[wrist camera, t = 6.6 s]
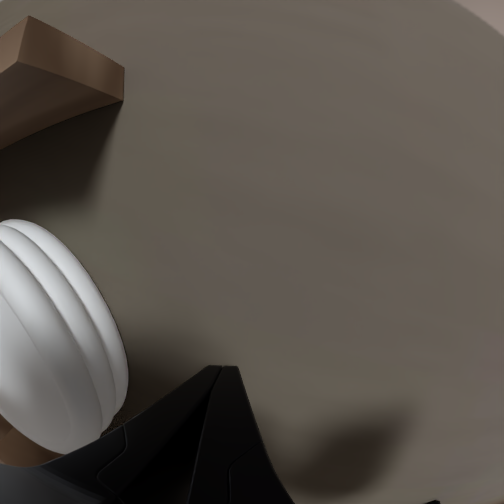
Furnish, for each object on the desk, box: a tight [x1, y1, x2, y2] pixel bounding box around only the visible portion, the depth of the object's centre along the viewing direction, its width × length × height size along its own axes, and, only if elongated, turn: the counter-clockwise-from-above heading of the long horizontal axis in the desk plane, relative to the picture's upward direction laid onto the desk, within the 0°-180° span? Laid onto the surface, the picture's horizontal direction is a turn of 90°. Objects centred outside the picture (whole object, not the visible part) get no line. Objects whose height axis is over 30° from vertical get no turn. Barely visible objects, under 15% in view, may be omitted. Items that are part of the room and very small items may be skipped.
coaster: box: [0, 219, 128, 454], centre depth 8 cm, size 10×10×4 cm
